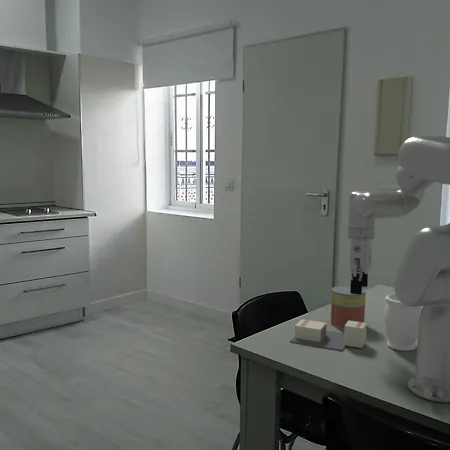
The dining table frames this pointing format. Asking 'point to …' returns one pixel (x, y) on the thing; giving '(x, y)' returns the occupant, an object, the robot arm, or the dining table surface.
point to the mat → (325, 341)
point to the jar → (401, 324)
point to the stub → (355, 334)
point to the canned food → (346, 306)
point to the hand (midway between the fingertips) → (359, 290)
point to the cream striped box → (310, 330)
